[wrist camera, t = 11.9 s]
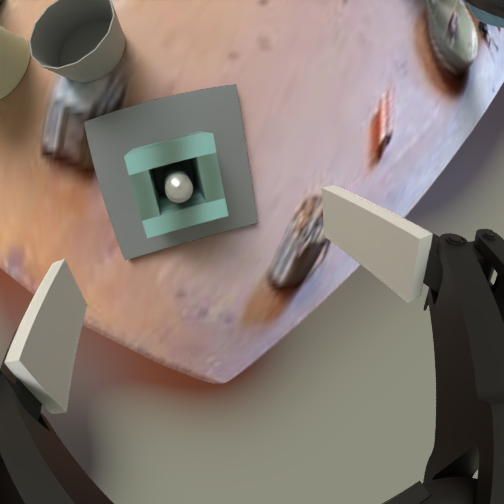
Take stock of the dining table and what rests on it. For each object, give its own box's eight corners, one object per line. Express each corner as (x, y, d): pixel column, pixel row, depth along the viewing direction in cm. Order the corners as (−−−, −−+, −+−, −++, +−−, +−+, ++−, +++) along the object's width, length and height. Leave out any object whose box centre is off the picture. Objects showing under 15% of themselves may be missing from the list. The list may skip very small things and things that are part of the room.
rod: (181, 160, 31) (189, 172, 23) (186, 179, 32) (195, 198, 24) (161, 165, 30) (162, 179, 22) (166, 184, 31) (169, 206, 24)
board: (232, 85, 30) (236, 84, 28) (254, 218, 38) (257, 222, 37) (86, 122, 26) (83, 122, 25) (125, 255, 35) (124, 260, 33)
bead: (200, 131, 30) (212, 133, 23) (212, 195, 34) (228, 215, 27) (132, 148, 28) (124, 156, 21) (149, 212, 32) (147, 238, 25)
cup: (71, 23, 19) (45, -5, 11) (132, 21, 22) (125, -14, 13) (55, 84, 22) (20, 73, 14) (116, 82, 25) (99, 66, 17)
